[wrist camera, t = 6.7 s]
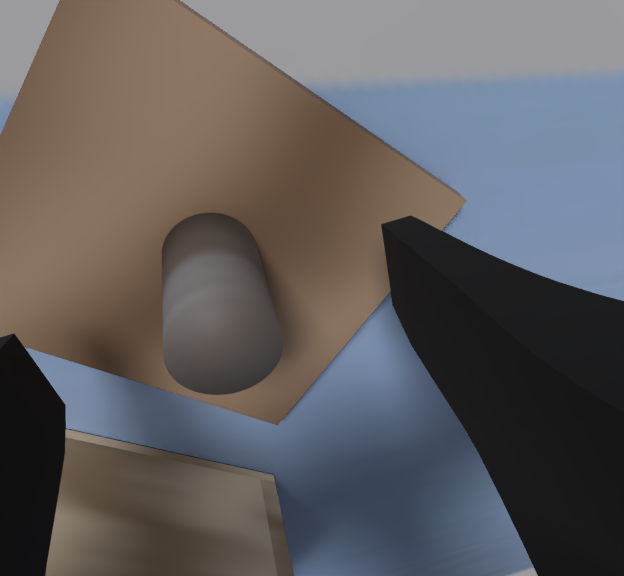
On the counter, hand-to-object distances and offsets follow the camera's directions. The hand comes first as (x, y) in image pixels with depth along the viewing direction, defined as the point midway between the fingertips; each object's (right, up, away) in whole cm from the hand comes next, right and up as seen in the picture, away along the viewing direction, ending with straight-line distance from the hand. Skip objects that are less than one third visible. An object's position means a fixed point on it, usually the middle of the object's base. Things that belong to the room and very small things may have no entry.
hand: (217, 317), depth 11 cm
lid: (-1, +2, +3) cm, 3 cm away
